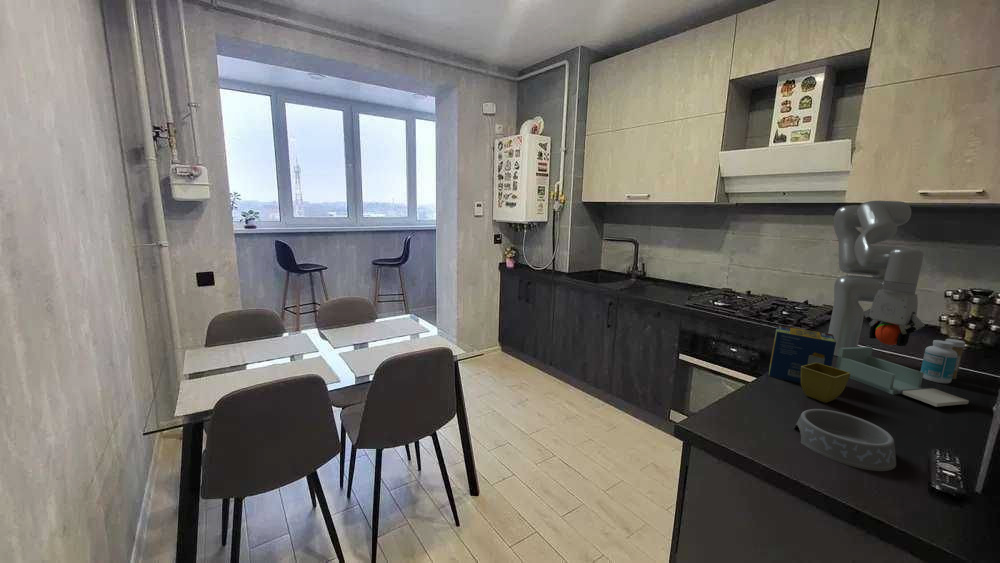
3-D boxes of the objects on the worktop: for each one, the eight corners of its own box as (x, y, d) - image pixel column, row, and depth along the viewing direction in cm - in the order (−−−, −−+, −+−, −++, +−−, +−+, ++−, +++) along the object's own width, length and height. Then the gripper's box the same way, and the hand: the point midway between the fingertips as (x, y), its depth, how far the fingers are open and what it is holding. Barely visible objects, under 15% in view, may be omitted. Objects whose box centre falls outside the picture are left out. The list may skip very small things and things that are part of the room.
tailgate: (898, 389, 121) (936, 403, 112) (929, 386, 124) (969, 400, 115) (897, 392, 121) (935, 406, 112) (929, 389, 124) (968, 403, 116)
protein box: (769, 367, 140) (776, 324, 138) (824, 379, 132) (833, 334, 129) (768, 376, 132) (775, 331, 129) (827, 389, 123) (837, 341, 121)
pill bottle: (943, 378, 139) (952, 341, 136) (956, 386, 132) (966, 347, 130) (914, 373, 142) (923, 337, 139) (925, 381, 135) (935, 342, 133)
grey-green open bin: (834, 372, 139) (839, 347, 137) (863, 370, 142) (868, 346, 140) (892, 394, 122) (898, 366, 121) (923, 392, 126) (930, 364, 124)
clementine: (881, 346, 127) (885, 324, 126) (864, 340, 134) (868, 319, 132) (908, 348, 126) (913, 326, 125) (890, 342, 133) (894, 321, 132)
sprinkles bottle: (957, 378, 140) (966, 341, 137) (954, 380, 137) (964, 343, 135) (938, 373, 143) (947, 337, 141) (935, 375, 141) (944, 339, 139)
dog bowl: (806, 457, 87) (811, 434, 86) (786, 419, 103) (790, 400, 102) (910, 481, 80) (916, 457, 79) (871, 437, 96) (876, 416, 96)
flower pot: (829, 407, 111) (835, 377, 109) (794, 394, 118) (800, 365, 117) (845, 402, 115) (851, 372, 113) (810, 389, 122) (815, 362, 121)
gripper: (859, 282, 134) (849, 334, 137) (925, 293, 117) (911, 351, 120) (876, 283, 136) (865, 333, 139) (942, 293, 119) (929, 350, 122)
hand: (887, 341), depth 129 cm, fingers closed on clementine, 7 cm apart
